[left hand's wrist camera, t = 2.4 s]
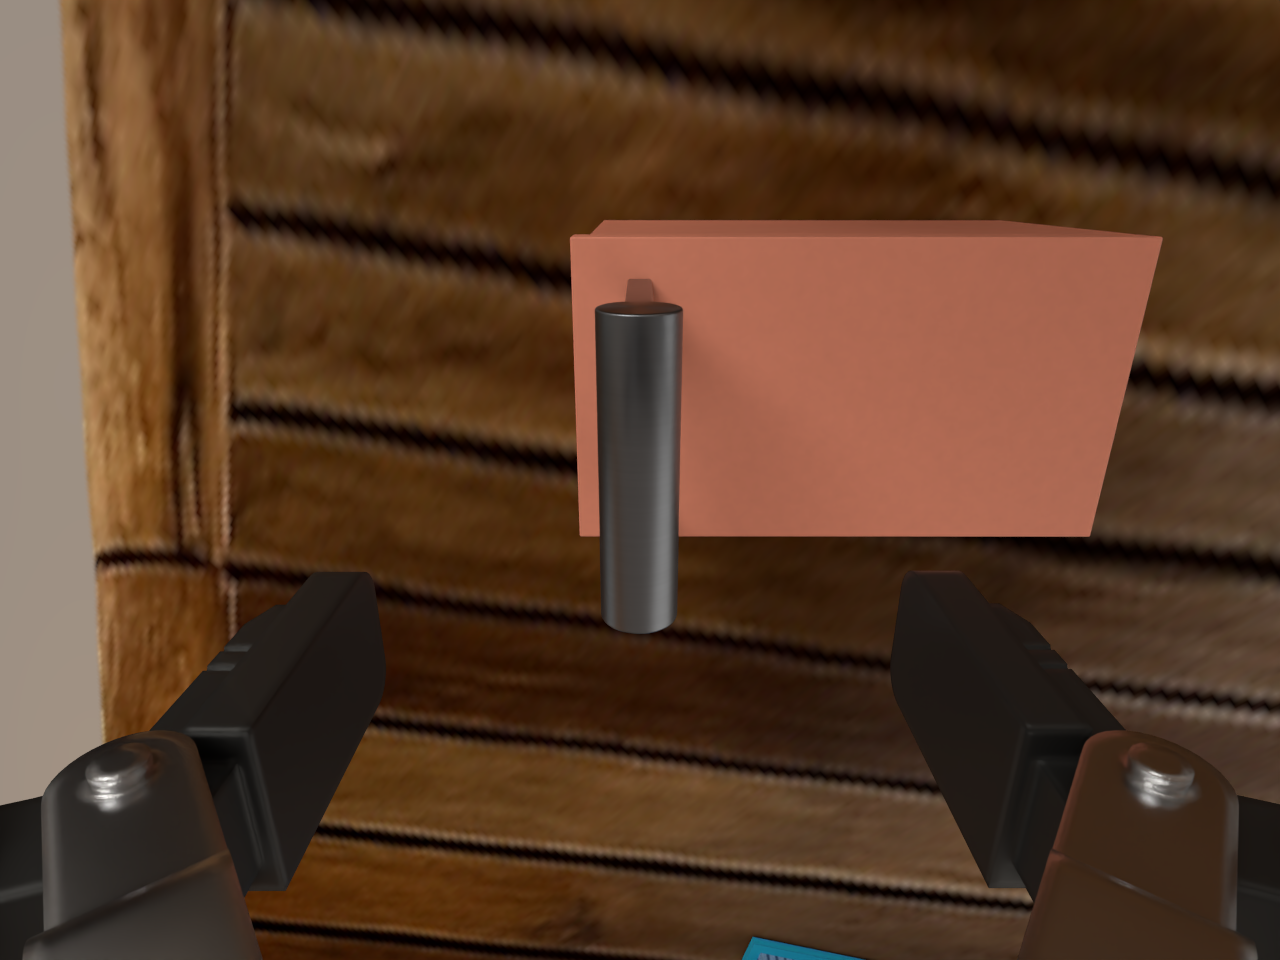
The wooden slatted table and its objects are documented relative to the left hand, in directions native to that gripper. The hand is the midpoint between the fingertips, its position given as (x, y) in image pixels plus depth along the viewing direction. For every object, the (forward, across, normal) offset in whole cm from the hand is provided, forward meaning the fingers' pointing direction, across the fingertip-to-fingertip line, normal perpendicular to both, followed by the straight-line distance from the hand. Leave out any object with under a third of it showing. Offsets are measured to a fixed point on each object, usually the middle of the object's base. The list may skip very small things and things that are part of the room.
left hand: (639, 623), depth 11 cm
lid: (+14, +7, 0) cm, 16 cm away
